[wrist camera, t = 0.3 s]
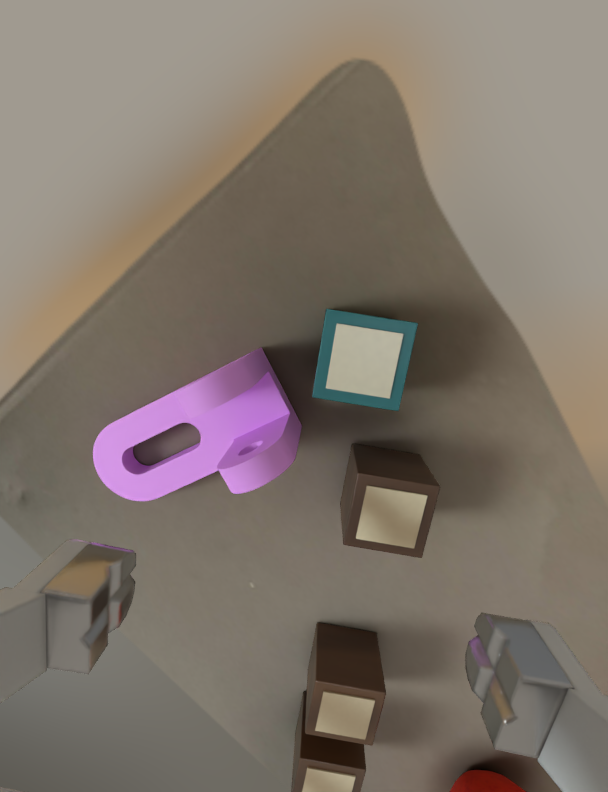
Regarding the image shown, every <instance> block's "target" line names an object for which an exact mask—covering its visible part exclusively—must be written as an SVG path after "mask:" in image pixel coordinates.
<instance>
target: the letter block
mask: <svg viewBox="0 0 608 792" xmlns="http://www.w3.org/2000/svg"><path fill="white" fill-rule="evenodd" d="M417 326H418V323H415V322H408V321H402V320H396V319H389V318H383V317H376V316H370V315H364V314H357V313H351V312H345V311H338V310H332V309H326V314H325V320H324V326H323V332H322V338H321V344H320V351H319V357H318V363H317V369H316V375H315V381H314V388H313V394H312V397H313V398H320V399H326V400H332V401H338V402H344V403H350V404H357V405H363V406H369V407H375V408H381V409H387V410H393V411H399V407H400V402H401V398H402V393H403V389H404V384H405V380H406V375H407V371H408V366H409V362H410V357H411V353H412V348H413V344H414V339H415V335H416V330H417Z"/></svg>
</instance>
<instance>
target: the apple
mask: <svg viewBox="0 0 608 792" xmlns="http://www.w3.org/2000/svg"><path fill="white" fill-rule="evenodd" d="M450 792H526V791H525V790H523V789H522V788H521V787H519V786H518V785H516V784H515V783H514V782H512V781H511V780H509V779H508V778H507V777H505V776H504V775H501V774H498V773H495V772H492V771H485V770H470V771H467V772H465V773H463V774H462V775H461V776H460V777H459V778H458V779H457V780H456V781H455V783H454V785H453V787H452V788H451V790H450Z"/></svg>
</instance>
